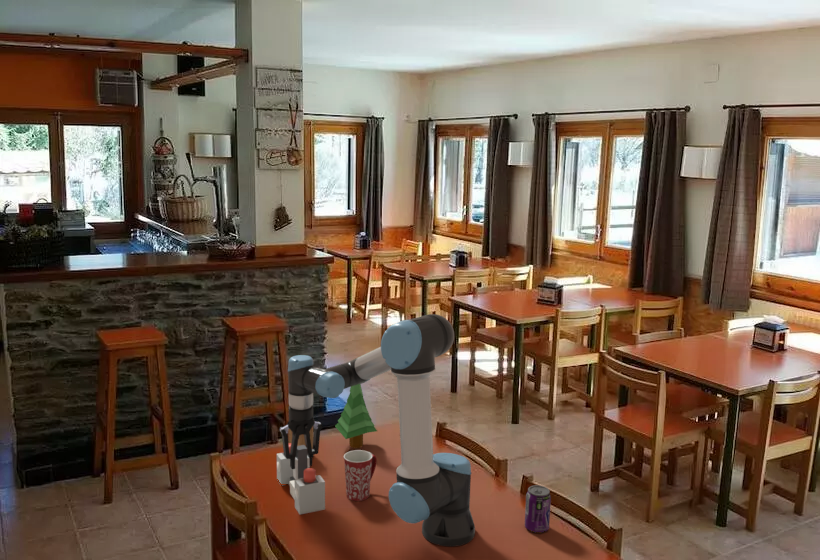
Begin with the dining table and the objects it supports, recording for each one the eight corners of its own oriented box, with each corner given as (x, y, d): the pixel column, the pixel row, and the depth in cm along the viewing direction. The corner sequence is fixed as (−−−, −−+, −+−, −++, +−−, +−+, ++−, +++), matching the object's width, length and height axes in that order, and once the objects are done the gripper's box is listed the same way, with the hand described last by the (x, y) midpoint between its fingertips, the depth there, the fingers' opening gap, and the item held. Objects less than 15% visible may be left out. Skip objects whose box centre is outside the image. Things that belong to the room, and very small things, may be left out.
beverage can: (543, 537, 209) (545, 498, 207) (520, 530, 213) (522, 491, 211) (552, 526, 215) (554, 488, 213) (530, 519, 219) (532, 482, 217)
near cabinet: (325, 509, 223) (325, 481, 221) (298, 514, 219) (298, 486, 218) (319, 502, 227) (319, 474, 225) (294, 507, 224) (293, 479, 222)
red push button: (297, 455, 239) (297, 446, 238) (286, 457, 237) (286, 448, 237) (294, 451, 242) (294, 442, 242) (283, 452, 241) (283, 444, 240)
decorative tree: (382, 441, 274) (383, 364, 269) (362, 457, 260) (363, 376, 255) (350, 435, 280) (350, 359, 274) (329, 450, 266) (329, 370, 260)
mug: (358, 505, 225) (358, 464, 223) (337, 496, 231) (337, 456, 229) (385, 491, 235) (386, 452, 232) (365, 482, 241) (365, 444, 238)
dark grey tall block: (313, 498, 229) (313, 449, 226) (295, 501, 227) (294, 452, 224) (307, 489, 235) (307, 442, 232) (289, 493, 232) (289, 445, 229)
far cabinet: (304, 481, 241) (304, 455, 239) (280, 485, 237) (280, 459, 236) (300, 475, 245) (300, 449, 244) (276, 479, 242) (275, 453, 240)
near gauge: (317, 481, 221) (317, 472, 220) (305, 483, 219) (305, 474, 219) (313, 476, 224) (313, 467, 223) (302, 478, 222) (302, 469, 222)
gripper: (322, 398, 232) (322, 467, 236) (272, 404, 225) (273, 476, 230) (329, 406, 225) (329, 477, 230) (278, 413, 219) (279, 486, 223)
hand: (301, 476), depth 230 cm, fingers closed on dark grey tall block, 3 cm apart
